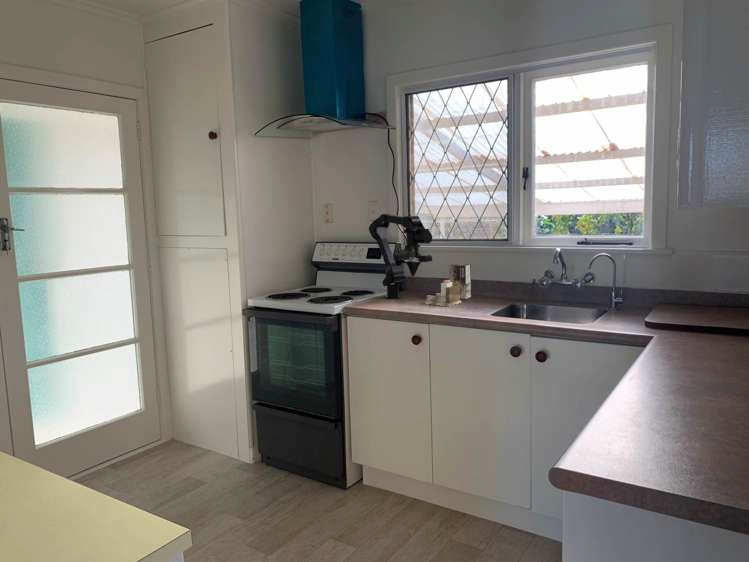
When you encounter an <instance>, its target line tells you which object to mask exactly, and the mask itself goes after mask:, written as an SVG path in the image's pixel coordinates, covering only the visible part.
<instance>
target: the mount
mask: <svg viewBox="0 0 749 562" xmlns="http://www.w3.org/2000/svg"><path fill="white" fill-rule="evenodd" d="M440 296H441V292H440V293H438V292H436V293H435V295H429V294H428V295H426V301H425V300H424V304H425V305H429V304H431V305H430V306H438V305H440V306H439V307H446V306H449V307H452V306H456V305H459V303H460V304H461V303H462V300H460V286H451V287H447V288H446V297H440ZM455 304H456V305H455Z"/></svg>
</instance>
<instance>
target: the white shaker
mask: <svg viewBox="0 0 749 562" xmlns="http://www.w3.org/2000/svg"><path fill="white" fill-rule="evenodd" d="M451 286H452V282H450V280H449V279H446V280H442V282H441V283H440V294H441V296H440V297H446V288H447V287H451Z"/></svg>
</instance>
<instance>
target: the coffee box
mask: <svg viewBox="0 0 749 562" xmlns="http://www.w3.org/2000/svg"><path fill="white" fill-rule="evenodd" d="M471 267H472V266H471V264H466V263H465V264H463V263H453V264H450V265H448V280H450V282H452V286H460V299H462V300H463V299H464V300H467V299H469V298H471V297H472V289H471V287H472V285H471V284H472V283H471V282H472V281H471V280H472V278H471V273H472V271H471Z"/></svg>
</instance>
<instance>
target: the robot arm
mask: <svg viewBox="0 0 749 562" xmlns="http://www.w3.org/2000/svg"><path fill="white" fill-rule="evenodd" d="M390 224H395V225H400V226H402V227H403V228H405V229H404V230H403V231H402V233H403V234H405V235H406V244H405V245H404V248H403V249H402V250H401V251H399V252H398V253H395V254H394V256H393V252H392V250H391V247H390V244H389V242H388V239H387V235H388V228H389V227H390ZM368 232H369V234H370V235H371V237H372V238H373V239H374V241H376V243H377V245H378V249H379V251H380V253H381V256H382V259H383V262H384V265H385V272H384V274H385V277H384V279H382V286H383V287H386V295H384V298H386V299H390V300H393V299H401V298H402V296H401V295H399V286H402V285H403V282H404V279H405V272H404V270H403V267H402V265H398V264H397V263H396V261H403V263H404V264H406V265H407V267H408V269H409V272H410V275H411V277H415V275H416V273H417V271H418V268H419V267H420V266H421V265H420V264H421V263H427V262H433V256H432V255H431V254H421V253H420V249H419V248H421V244H427V245H429V244H430V243H432V241H433V235H432V232H431V231H430V229H429V228H425V225H423V222H422V220H421V218H420V216H419V215H409V216H407V215H406V216H403V215H397V214H392V213H382V214H381V215H379V217H377V218H376V219H374V220H373V221H372V223H371V224H369V227H368Z"/></svg>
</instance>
